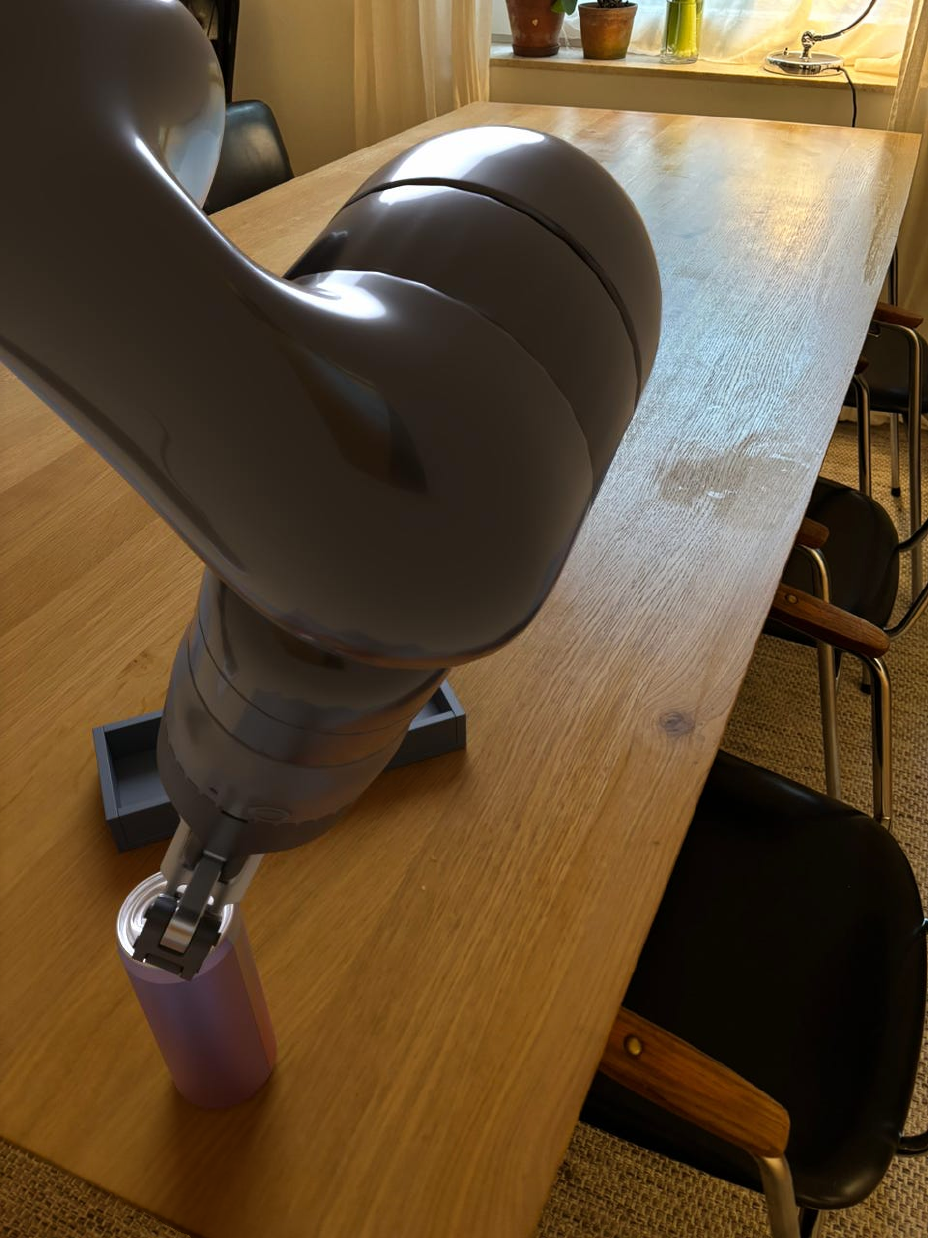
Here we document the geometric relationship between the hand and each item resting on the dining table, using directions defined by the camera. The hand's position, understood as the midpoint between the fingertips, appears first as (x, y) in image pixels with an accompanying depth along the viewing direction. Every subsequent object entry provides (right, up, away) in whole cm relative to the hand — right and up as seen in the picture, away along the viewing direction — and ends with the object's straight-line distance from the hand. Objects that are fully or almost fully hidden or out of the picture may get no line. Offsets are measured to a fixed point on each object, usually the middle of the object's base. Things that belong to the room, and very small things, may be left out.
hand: (222, 834), depth 46 cm
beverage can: (-2, -16, +11) cm, 20 cm away
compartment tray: (-2, 0, +29) cm, 30 cm away
